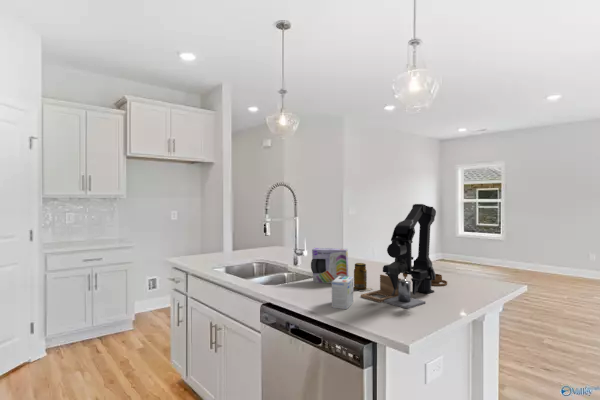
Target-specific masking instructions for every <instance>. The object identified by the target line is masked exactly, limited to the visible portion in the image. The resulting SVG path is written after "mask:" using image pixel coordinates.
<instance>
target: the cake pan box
mask: <svg viewBox="0 0 600 400" xmlns="http://www.w3.org/2000/svg"><path fill="white" fill-rule="evenodd" d="M348 250H349V249H348V248H333V247H314V248H312V249H311V253H312V255H311V257H312V259H311V261H310V269H311V273H312V283H321V284H322V283H323V284H332V281H333V280H335V279H336V278H337V277H338V276H346V277H350V275H349V273H350V272H349V253H348Z"/></svg>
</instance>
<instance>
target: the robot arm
mask: <svg viewBox="0 0 600 400" xmlns="http://www.w3.org/2000/svg"><path fill="white" fill-rule="evenodd" d="M436 216H437V210H436V208H434V206H429V205H426V204H424V203H414V204H412V208H411V209H410V211H409V213H408V214H407V216H406V218H405V217H404V220H402V221H399V222H398V223H397V224H396V225H395V227H394V229H393V232H392V236H391V239H390V241H391V243H390V244H388V246H387V248H386V252H387V254H388V256H389V257H391V258H393V259H394V261H392V262H391V263H390V264H385V265H383V266H382V273H384V275H386V276H389V277H390V279H391V282H392V285H393V287H394V290H396V289H397V284H398V278H399V275H401V274H403V273H404V274H408V275H410V276H411V278H410V280H411V282H412V284H411V285H412V286H411V289H412V291H411V293H412V295H416V293H422V294H427V295H428V294H431V293H435V290H433V289H432V286H431V280H435V277H436V274H437V273H436V272H435V270H434V267H433V262H432V260H431V258H430V242H431V241H430V240H431V239H430V238H431V226H432V225H433V223H434V221H435V217H436ZM417 223H418V224H419V231H418V232H419V234H418V253H417V257H416V259H414V256H412V255H413V254H412V250H413V249H412V243H413V239H414V237H415V234H416V230H415V226H416V225H417ZM412 260H413V265H412Z"/></svg>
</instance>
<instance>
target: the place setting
mask: <svg viewBox="0 0 600 400" xmlns="http://www.w3.org/2000/svg"><path fill="white" fill-rule="evenodd" d="M435 274H436V277H435V280H431V287H444V286H446V285H448V281H447V280H444V279H443V275H442V274H441V273H439V274H438V273H435ZM408 275H409V274H404V273H402V276H403V279H407V277H408Z"/></svg>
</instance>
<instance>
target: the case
mask: <svg viewBox="0 0 600 400" xmlns="http://www.w3.org/2000/svg"><path fill="white" fill-rule="evenodd" d="M401 279H402V278H399V277H398V281H400V280H401ZM375 295H380V296H384V297H381V298H380V297H376V296H375ZM397 296H398V284H397V289H396V290H394V287H393V285H392V282H391V279H390V277H389V276H388V275H386V274H379V289H378V290H374V291H373V290H372V291H370V292H367V293H361V294H360V298H365V299H367V300H370V301H374V302H376V303H377V302H378V303H385V302H384V300H386V299H390V298H393V297H397Z"/></svg>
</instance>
